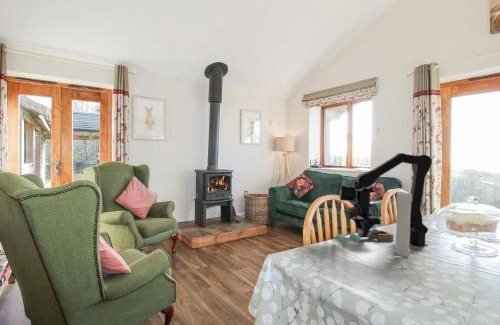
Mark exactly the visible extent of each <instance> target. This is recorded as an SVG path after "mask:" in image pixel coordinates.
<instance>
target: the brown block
mask: <svg viewBox="0 0 500 325" xmlns="http://www.w3.org/2000/svg"><path fill="white" fill-rule="evenodd" d="M377 230H378V234H377V237H369V238H370V239H372V240H375V241H377V242H380V243H381V242H394V234H393V233H390V232H389V231H386V230H383V229H382V230H379V229H377Z"/></svg>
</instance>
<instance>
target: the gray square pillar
mask: <svg viewBox="0 0 500 325" xmlns="http://www.w3.org/2000/svg"><path fill="white" fill-rule="evenodd" d="M395 180H396V181H398V183H400V184H401V186H402V188H403V192H397V193H396V202H397V206H396V230H395V231H396V234H395V236H396V237H395V246H394V253H395V254H396V255H398V256H400V257H403V258H408V257H410V255H411V249H410V244H409V243H410V216H411V201H412V194H411V192H410V193H407V192H405V188H404V185H403V184H402V182H401V181H399V180H398V179H397V178H395Z"/></svg>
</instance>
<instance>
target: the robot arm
mask: <svg viewBox="0 0 500 325" xmlns="http://www.w3.org/2000/svg"><path fill="white" fill-rule="evenodd" d="M402 163H403V164H410V165H411V170H412V173H413V174H412V175H413V176H412V183H411V190H410V194H412V201H411V216H410V243H409V245H412V246H415V247H427V246H429V244H426V234H427V233H428V231H429V228H428V227H427V226H426V225H425V224H424V223H423V213H422V210H421V205H422V200H423V193H424V187H425V180H426V176H427V174H428V172H429V171H430V168H431V166H432V158H431V157H430V156H428V155H427V154H418V155H413V154H406V153H402V152H401V153H399V152H398V153H397V154H395V155H394V156H392V157H391V158H389V159H388V160H386V161H385V162H383V163H381V164H379V165H378V166H376V167H375V168H373V169H371V170H369V171H368V170H367V171H365V172H362V173H360V174H359V175H357V177H356V181H355V182H354V183H353V184H352V185H351V186H349V185H347V186H345V185H340V190H339V201H345V202H346V201H349V202H353V201H354V200H356V202H354V203H353V206H352V207H348V208H346V209H344V210H343V212H344V216H345V217H346V218H348V219H349V220H352V221H353V222H354V224H355V228H356V231H358V229H363V237H364V238H367V237H366V236H367V234H368V233H369V231H370V229H371V228H373V227H374V226H377V225H381V224H382V220H381V218H379V217H378V216H374V215H373V214H372V213H370V212H371V210H370V209H371V208H372V207H373V204H371V193H376V190H374V188H373V187H372V186H371V185H372V184H374V183H375V182H376V181H377V180H378V178H380V177H381V176H383V175H384V174H387V173H388V172H389V171H392V169H394V168H396V167H397V166H399V165H401V164H402Z"/></svg>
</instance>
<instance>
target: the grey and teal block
mask: <svg viewBox="0 0 500 325" xmlns="http://www.w3.org/2000/svg"><path fill="white" fill-rule="evenodd" d="M378 230H379V229H377V228H376V227H372V228H371V229H370V231H369V233H368V234H367V236H366V237H363V229H358V231H357V230H356V231H357V232H356V233H357V236H359V237H360V239H361V238H370V237H377V234H378Z"/></svg>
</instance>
